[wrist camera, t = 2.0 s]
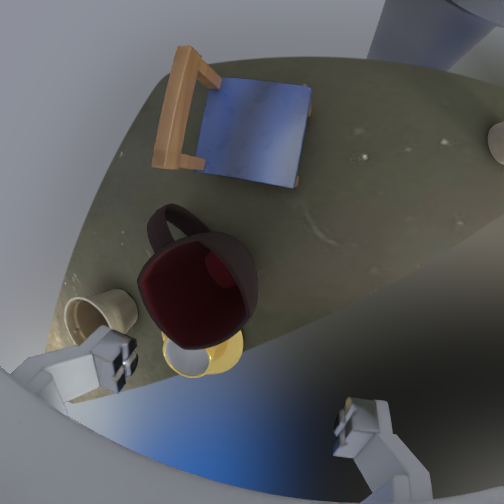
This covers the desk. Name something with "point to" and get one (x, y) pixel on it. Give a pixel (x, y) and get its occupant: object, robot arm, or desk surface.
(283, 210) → the desk surface
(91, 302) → the flower pot
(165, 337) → the cup
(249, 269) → the mug
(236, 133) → the chair
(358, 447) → the robot arm
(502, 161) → the candle
